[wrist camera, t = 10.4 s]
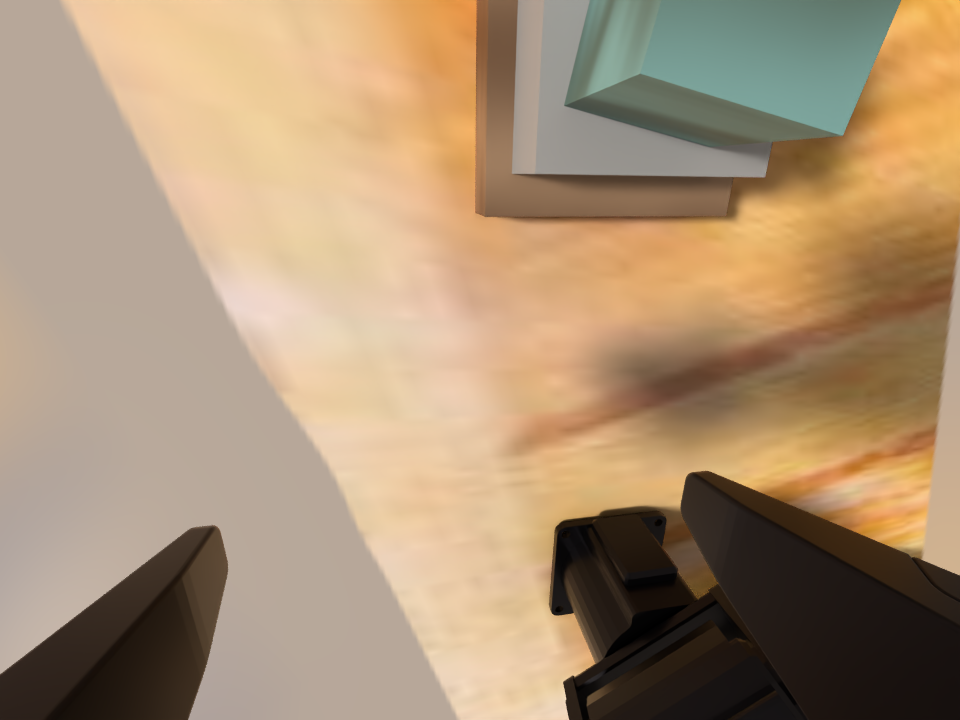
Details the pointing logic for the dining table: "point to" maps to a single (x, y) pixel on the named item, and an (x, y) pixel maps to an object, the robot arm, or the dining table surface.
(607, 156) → the grey slab
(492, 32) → the walnut slab
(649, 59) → the teal block
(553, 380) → the dining table surface
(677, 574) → the robot arm
